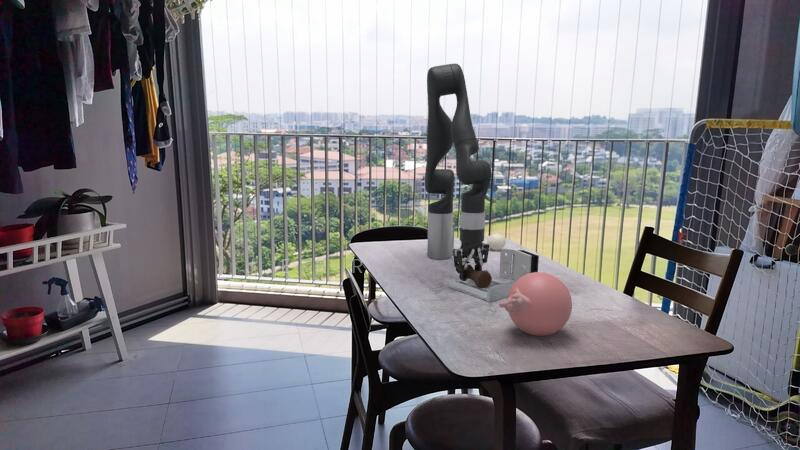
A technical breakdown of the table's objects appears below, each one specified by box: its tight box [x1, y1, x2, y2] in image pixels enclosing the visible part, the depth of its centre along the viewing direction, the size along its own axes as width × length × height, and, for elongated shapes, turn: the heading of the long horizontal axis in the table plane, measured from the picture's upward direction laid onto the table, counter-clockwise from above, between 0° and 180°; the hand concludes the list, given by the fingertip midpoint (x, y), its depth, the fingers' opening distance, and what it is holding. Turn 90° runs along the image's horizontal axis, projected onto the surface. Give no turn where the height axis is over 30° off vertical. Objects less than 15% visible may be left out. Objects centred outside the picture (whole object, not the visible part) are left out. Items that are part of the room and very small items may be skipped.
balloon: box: [498, 271, 573, 337], centre depth 129 cm, size 15×20×15 cm
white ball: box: [486, 232, 506, 251], centre depth 212 cm, size 7×7×7 cm
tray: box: [443, 276, 516, 303], centre depth 163 cm, size 11×19×4 cm, turn 38°
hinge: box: [498, 247, 540, 282], centre depth 172 cm, size 14×5×10 cm, turn 37°
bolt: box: [455, 263, 493, 288], centre depth 165 cm, size 6×5×15 cm
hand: (470, 278), depth 166 cm, fingers closed on bolt, 5 cm apart
